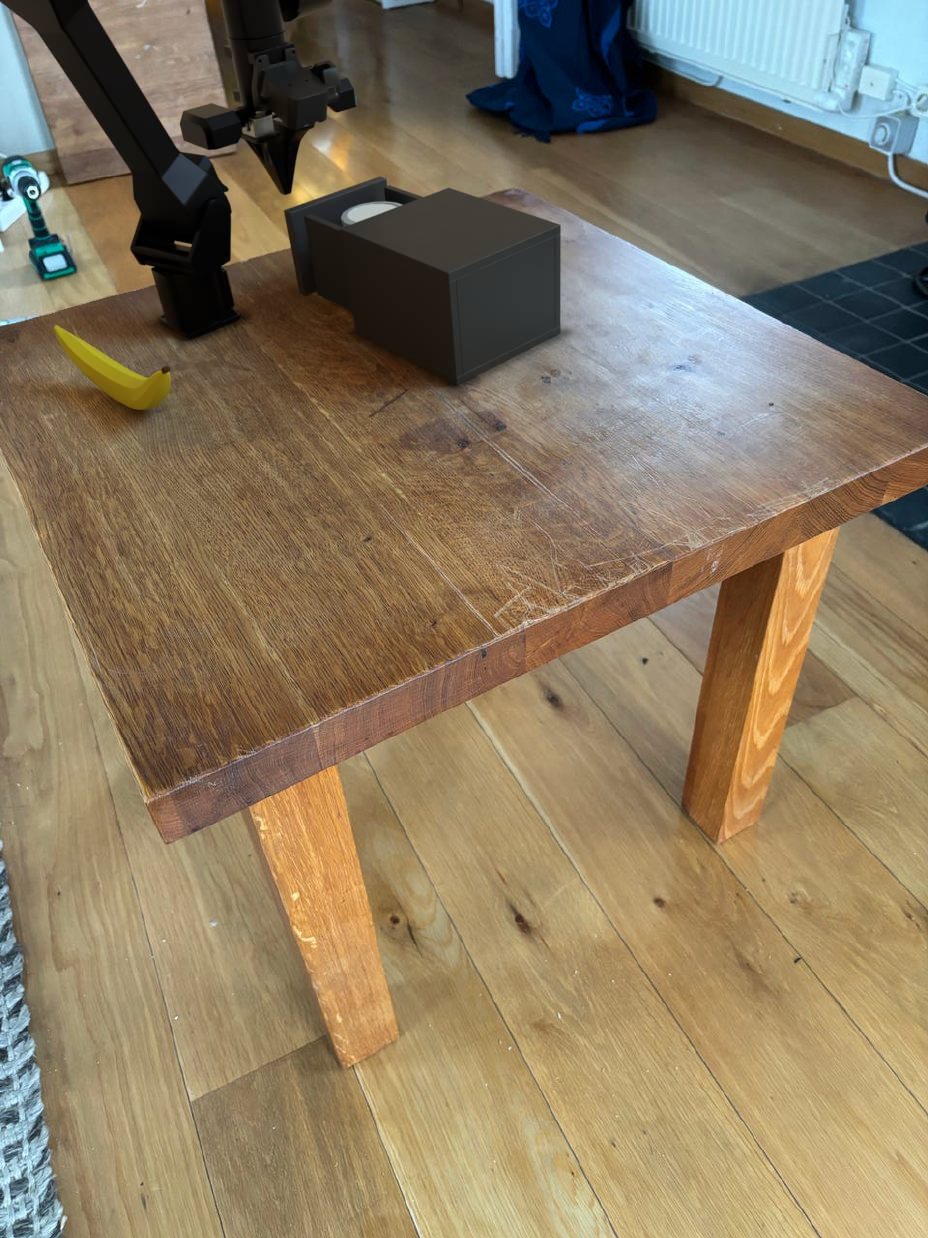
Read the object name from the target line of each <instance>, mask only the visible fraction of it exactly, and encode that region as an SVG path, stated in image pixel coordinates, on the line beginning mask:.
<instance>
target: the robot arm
mask: <svg viewBox="0 0 928 1238" xmlns="http://www.w3.org/2000/svg"><path fill="white" fill-rule="evenodd" d="M0 3H1V4H2V5H4V6H5V7H6V8H7V9H9V10H10V11H11V12H12V13H14V14H15V15H17V16H18V17H19V18H20V19H22V20H23V21H24V22H26V23H27V24H28V25H29V26H30V27H31V28H33V29H34V31H35V32H36V33H37V34H38V35H39V37H40V38H41V40H42V42H43V43H44V44H45V46H46V47H47V49H48V50H49V52H50V54H51V55H52V57H53V58H54V59H55V61H56V62H57V64H58V66H59V68H61V70H62V72H63V73H64V74H65V76H66V78H67V79H68V80H69V82H70V83H71V85H72V87H74V89H75V90H76V92H77V94H78V96H80V98H81V100H82V101H83V102H84V104H85V105H86V107H87V108H88V110H89V112H90V113H91V114H92V116H93V118H94V119H95V120H96V122H97V123H98V125H99V126H100V128H101V130H102V131H103V132H104V133H105V135H106V137H107V138H108V140H109V141H110V142H111V144H112V145H113V147H114V148H115V150H116V152H117V153H118V154H119V156H120V157H121V159H122V160H123V162H124V164H125V165H126V167H127V168H128V170H129V171H130V174H131V181H132V182H131V183H132V184H131V185H132V186H131V187H132V197H133V200H134V202H135V205H136V207H137V208H138V210H139V213H140V216H139V219H138V221H137V225H136V229H135V232H134V234H133V237H132V240H131V243H130V246H129V250H130V252H131V253H132V255H133V257H134V259H135V260H136V261H137V263H138V264H139V265H140V266H149V267H150V270H151V274H152V277H153V278H152V279H153V282H154V284H155V288H156V291H157V294H158V298H159V301H160V305H161V308H162V309H161V310H162V312H163V314H161V315H160V316H159V317H158V321H159V323H161V324H163V325H165V327H167V328H169V329H171V330H172V331H174V332H175V333H177V334H179V335H181V336H182V337H184V338H186V339H193V338H196V337H198V336H201V335H203V334H205V333H208V332H210V331H214V330H215V329H218V328H221V327H223V326H225V325H227V324H230V323H233V322H235V321H238V320H240V319H241V318H242V316H241V313H240V312H239V311H237V310H236V309H233V308H235V305H236V304H235V299H234V295H233V291H232V288H231V283H230V279H229V275H228V271H227V269H226V268H224V267H223V266H225V265H226V264H228V263H230V262H231V259H232V213H233V210H232V206H231V203H230V200H229V198H228V196H227V195H226V193H227V192H229V190H230V188H229V187H228V186H227V185H225V184H224V182H222V180H221V179H220V177H219V175H218V173H217V171H216V168H215V166H214V164H213V162H212V160H210V158H209V157H208V156H207V155H206V154H199V153H194V152H193V153H192V152H185V151H181V150H179V149H178V147H177V146H176V144H175V143H174V141H173V140H172V138H171V136H170V135H169V133H168V131H167V130H166V128H165V126H164V124H163V123H162V121H161V120H160V118H159V116H158V115H157V113H156V111H155V110H154V108H153V107H152V104H151V103H150V102H149V100H148V97H146V95H145V93H144V92H143V90H142V88H141V87H140V85H139V83H138V82H137V80H136V78H135V77H134V75H133V74H132V72H131V69H129V67H128V65H127V64H126V62H125V60H124V59H123V57H122V55H121V54H120V52H119V51H118V49H117V47H116V46H115V44H114V43H113V40H112V38H111V37H110V36H109V34H108V33H107V30H106V29H105V28H104V26H103V24H102V23H101V21H100V19H99V18H98V16H97V15H96V12H95V11H94V9H93V8H92V6H91V4H90V2H89V0H0ZM331 3H333V0H220V4H221V9H222V15H223V20H224V24H225V29H226V35H227V40H228V44H226V45H223V51H224V56H225V58H227V59H231V60H232V64H233V68H234V74H235V79H236V84H237V89H233V90H232V95H233V99H234V102H237V103H239V104H241V106H238V107H233V108H228V107H225V106H221V105H218V104H216V103H213V102H210V103H207V104H203V105H199V106H195V107H192V108H189V109H186V110H183V111H182V114H181V117H180V121H179V128H180V132H181V135H182V139H183V141H184V142H186V143H189V144H191V145H194V146H196V147H199V148H202V149H204V150H207V151H216V150H221V149H223V148H226V147H230V146H233V145H236V144H239V142H240V140H244V141H245V143H246V144H247V145H248V147H249V148H250V150H251V151H252V152H253V153H254V154H255V155H256V157H257V159H258V160H259V162H260V163H261V165H262V166H263V168H264V170H265V172H266V173H267V174H268V176H269V177H270V179H271V181H272V182H273V184H274V185H275V188H276V189H277V191H278V192H279V193H280V194H281V195H282V196H287V195H290V194H291V193H292V191H293V185H294V178H295V171H296V165H297V158H298V153H299V149H300V145H301V143H302V140H303V138H304V137H305V135H306V134H307V133H308V132H309V131H310V130H312V129H314V128H315V126H316V123H324V122H325V121H326V120H327V119H328V108H329V109H330V110H331V111H332V112H334V113H337V114H338V113H342V112H345V111H348V110H351V109H354V108H357V106H358V100H357V93H356V88H355V86H354V84H353V83H352V81H351V80H350V79H349V78H348V77H347V76H342V75H339V70H338V66H337V65H336V64H335V63H334V62H332V61H331V60H325V61H321V62H317V63H314V65H307V66H305V67H304V66H302V65H301V62H300V60H299V55H298V50H297V49H296V47H295V42H291V41H287V34H286V30H285V24H284V23H290V22H293V21H296V20H298V19H301V18H303V17H307V16H309V15H312V14H315V13H317V12H320V11H323V10H326V9H327V8H328V7H330V5H331ZM257 112H258V113H257ZM176 242H178V243H182V244H178V243H176ZM184 244H188V245H190V246H188V245H184Z"/></svg>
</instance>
